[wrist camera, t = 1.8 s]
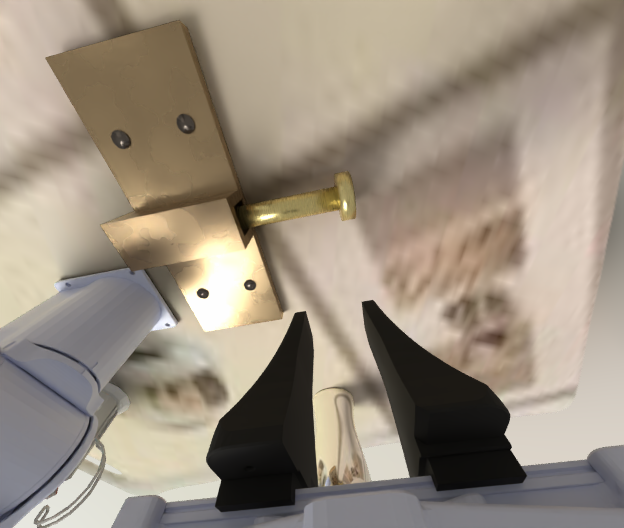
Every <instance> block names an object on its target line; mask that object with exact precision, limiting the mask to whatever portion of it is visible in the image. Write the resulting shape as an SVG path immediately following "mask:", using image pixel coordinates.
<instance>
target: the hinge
mask: <svg viewBox="0 0 624 528" xmlns="http://www.w3.org/2000/svg"><path fill="white" fill-rule="evenodd" d="M46 60H47V62H48V63H49V65H50V67H51V69H52V70H53V72H54V74H55V75H56V77H57V79H58V81H59V82H60V84H61V86H62V87H63V89H64V91H65V93H66V94H67V96H68V98H69V99H70V101H71V103H72V105H73V106H74V108H75V110H76V111H77V113H78V115H79V117H80V118H81V120H82V122H83V123H84V125H85V127H86V129H87V130H88V132H89V134H90V135H91V137H92V139H93V141H94V142H95V144H96V146H97V147H98V149H99V151H100V153H101V154H102V156H103V158H104V159H105V161H106V163H107V165H108V166H109V168H110V170H111V171H112V173H113V175H114V177H115V178H116V180H117V182H118V183H119V185H120V187H121V189H122V190H123V192H124V194H125V195H126V197H127V199H128V200H129V202H130V204H131V206H132V207H133V209H134V211H133V212H131V213H128V214H126V215H123V216H121V217H118V218H116V219H113V220H111V221H109V222H106V223H104V224H101V225H100V226H101V228H102V229H103V230H104V232H105V233H106V235H107V236H108V238H109V239H110V241H111V242H112V244H113V245H114V247H115V248H116V250H117V251H118V253H119V254H120V255H121V257H122V258H123V260H124V261H125V263H126V264H127V266H128V267H129V269H130V270H131V272H132V271H138V270H143V269H148V268H153V267H159V266H164V265H166V266H167V267H168V269H169V271H170V272H171V274H172V276H173V278H174V279H175V281H176V283H177V284H178V286H179V288H180V290H181V291H182V293H183V295H184V296H185V298H186V300H187V302H188V303H189V305H190V307H191V308H192V310H193V312H194V314H195V315H196V317H197V319H198V320H199V322H200V324H201V326H202V327H203V329H204V331H205V332H206V331H212V330H218V329H224V328H230V327H236V326H243V325H249V324H255V323H261V322H267V321H273V320H279V319H282V317H283V311H282V308H281V305H280V302H279V299H278V296H277V293H276V290H275V287H274V284H273V281H272V278H271V275H270V272H269V269H268V266H267V264H266V261H265V258H264V255H263V252H262V249H261V246H260V243H259V240H258V237H257V234H256V231H255V228H254V227H251V228H246V229H241V226H240V223H239V220H238V218H237V215H236V212H235V209H234V207H239V206H243V205H247V204H246V201H245V198H244V195H243V192H242V189H241V186H240V183H239V180H238V177H237V174H236V171H235V168H234V165H233V163H232V160H231V157H230V154H229V151H228V148H227V145H226V142H225V139H224V136H223V133H222V130H221V127H220V124H219V121H218V118H217V115H216V112H215V109H214V106H213V103H212V100H211V97H210V94H209V91H208V88H207V85H206V82H205V79H204V76H203V73H202V70H201V67H200V64H199V62H198V59H197V56H196V53H195V50H194V47H193V44H192V41H191V38H190V35H189V32H188V29H187V27H186V26H185V25H184V24H183V23H182V22H181V21H180V20H178V21H174V22H170V23H167V24H163V25H160V26H156V27H153V28H149V29H145V30H142V31H138V32H135V33H131V34H128V35H124V36H121V37H117V38H113V39H110V40H106V41H103V42H99V43H96V44H92V45H89V46H85V47H81V48H78V49H74V50H71V51H67V52H64V53H60V54H57V55H53V56H49V57H46Z"/></svg>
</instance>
